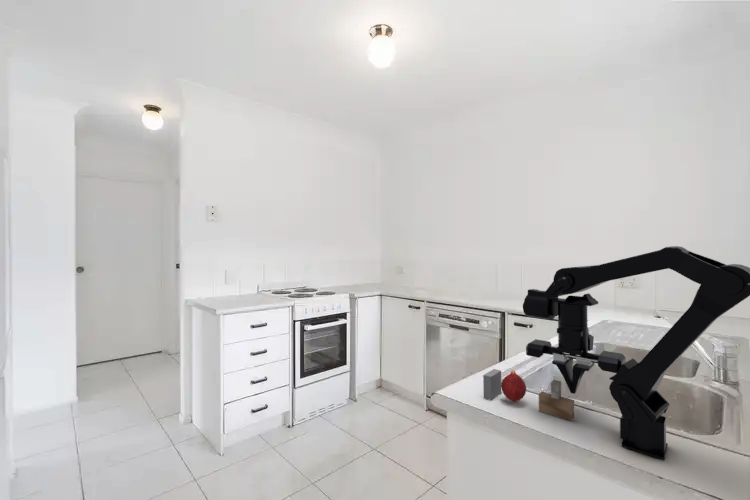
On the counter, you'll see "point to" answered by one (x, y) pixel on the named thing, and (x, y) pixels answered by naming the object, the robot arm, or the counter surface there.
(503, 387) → the onion
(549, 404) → the door
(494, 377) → the jamb
